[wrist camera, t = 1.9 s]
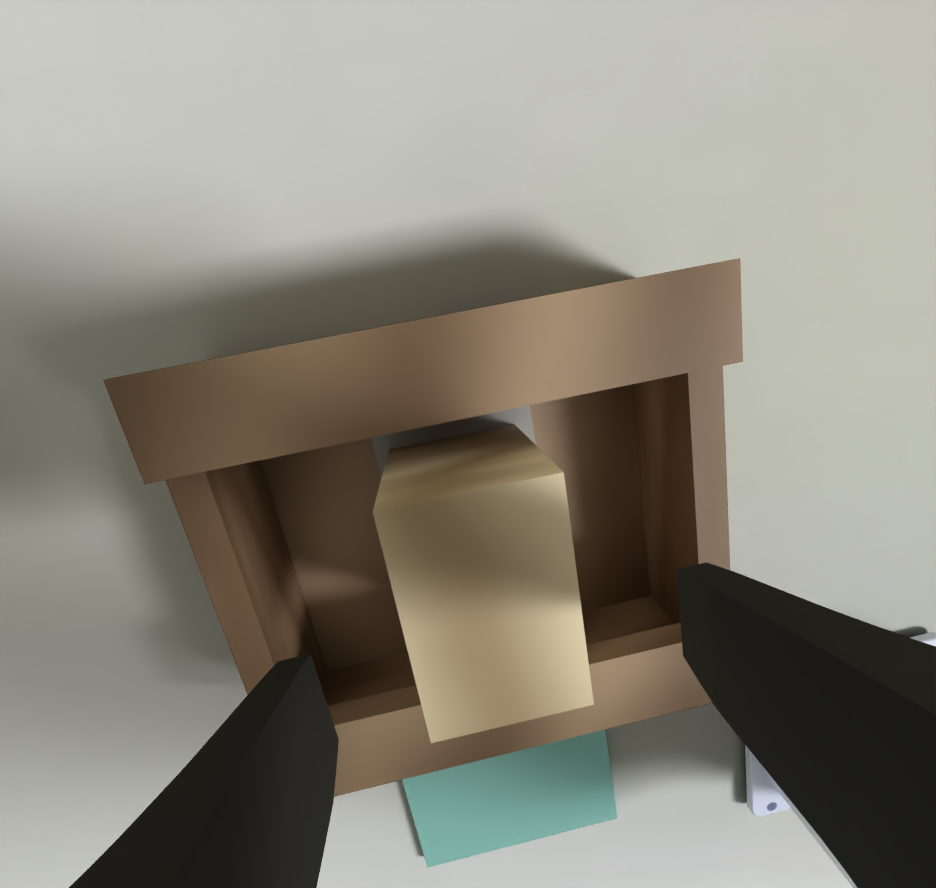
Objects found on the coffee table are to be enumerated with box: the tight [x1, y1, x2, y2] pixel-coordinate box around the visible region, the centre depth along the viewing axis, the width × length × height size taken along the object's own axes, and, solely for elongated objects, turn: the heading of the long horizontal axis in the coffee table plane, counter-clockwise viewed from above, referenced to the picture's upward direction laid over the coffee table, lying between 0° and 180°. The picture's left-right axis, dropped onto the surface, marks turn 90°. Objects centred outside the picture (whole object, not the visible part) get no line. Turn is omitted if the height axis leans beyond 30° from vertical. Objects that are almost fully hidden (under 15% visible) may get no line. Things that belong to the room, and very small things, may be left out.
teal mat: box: [402, 730, 617, 867], centre depth 20 cm, size 9×9×1 cm
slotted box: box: [103, 258, 743, 796], centre depth 15 cm, size 15×13×5 cm
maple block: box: [373, 424, 594, 743], centre depth 12 cm, size 4×6×5 cm, turn 10°
